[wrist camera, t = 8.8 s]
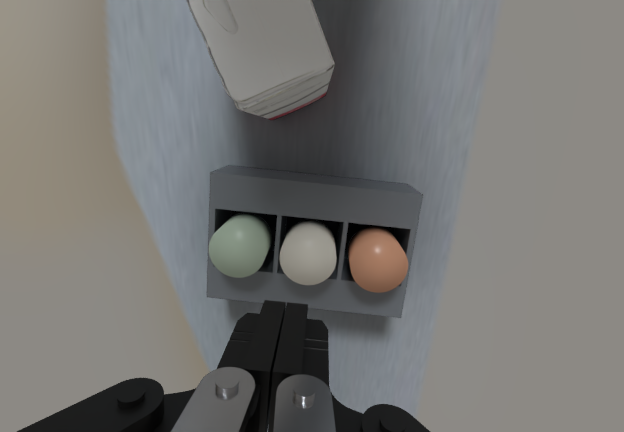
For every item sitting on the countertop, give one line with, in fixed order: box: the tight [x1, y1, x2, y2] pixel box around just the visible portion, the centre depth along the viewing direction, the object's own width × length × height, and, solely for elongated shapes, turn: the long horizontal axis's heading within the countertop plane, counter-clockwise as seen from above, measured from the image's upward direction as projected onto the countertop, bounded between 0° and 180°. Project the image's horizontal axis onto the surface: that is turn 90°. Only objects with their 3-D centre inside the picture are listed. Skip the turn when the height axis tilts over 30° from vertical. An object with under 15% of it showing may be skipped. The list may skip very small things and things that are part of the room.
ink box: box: [187, 0, 335, 120], centre depth 20 cm, size 9×5×12 cm, turn 23°
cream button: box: [280, 219, 337, 285], centre depth 24 cm, size 4×4×3 cm
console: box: [207, 165, 423, 318], centre depth 27 cm, size 9×14×4 cm, turn 84°
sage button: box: [209, 213, 272, 278], centre depth 24 cm, size 4×4×3 cm
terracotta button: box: [348, 226, 408, 293], centre depth 24 cm, size 4×4×3 cm
